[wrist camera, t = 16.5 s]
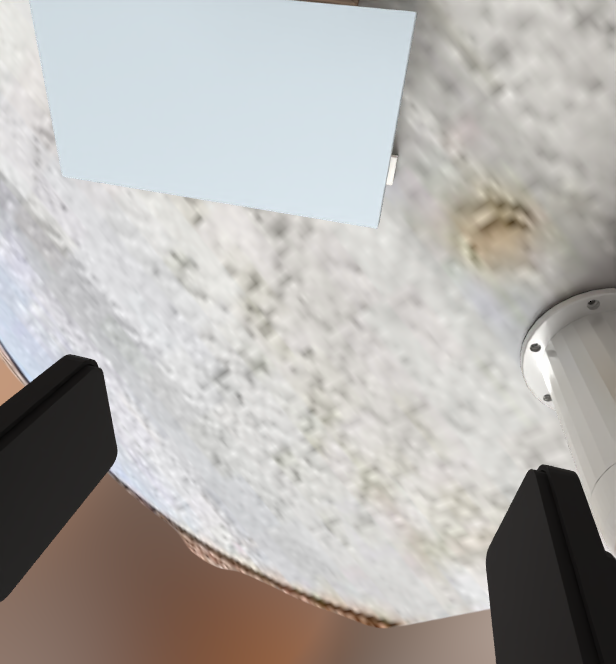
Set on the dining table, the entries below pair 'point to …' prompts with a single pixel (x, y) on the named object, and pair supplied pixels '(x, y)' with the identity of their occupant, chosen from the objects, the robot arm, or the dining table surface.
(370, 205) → the small white step stool
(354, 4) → the socket block
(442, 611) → the dining table surface
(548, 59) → the dining table surface
